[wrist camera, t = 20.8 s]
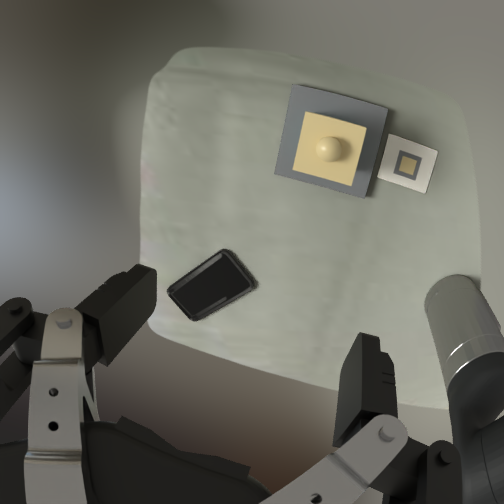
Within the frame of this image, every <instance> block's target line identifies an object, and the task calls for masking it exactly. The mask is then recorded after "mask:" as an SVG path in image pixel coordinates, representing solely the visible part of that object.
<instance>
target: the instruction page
mask: <svg viewBox="0 0 504 504" xmlns="http://www.w3.org/2000/svg"><path fill="white" fill-rule="evenodd" d="M437 153H438V151H436V150H434V149H431V148H428V147H426V146H423V145H420V144H418V143H415V142H412V141H409V140H407V139H404V138H401V137H398V136H395V135H392V134H389V135H388V139H387V143H386V147H385V151H384V154H383V158H382V162H381V165H380V169H379V172H378V176H377V178H381V179H384V180H387V181H390V182H393V183H396V184H399V185H402V186H405V187H408V188H411V189H413V190H416V191H419V192H422V193H426V190H427V187H428V183H429V180H430V177H431V174H432V170H433V167H434V164H435V160H436V157H437Z"/></svg>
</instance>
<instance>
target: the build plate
mask: <svg viewBox="0 0 504 504" xmlns="http://www.w3.org/2000/svg"><path fill="white" fill-rule="evenodd" d="M305 111H308V112H314V113H318V114H322V115H326V116H330V117H334V118H338V119H341V120H345V121H349V122H352V123H356V124H359V125H362V126H364V127H366V128H367V129H366V133H365V137H364V141H363V145H362V149H361V153H360V156H359V160H358V164H357V168H356V171H355V175H354V178H353V182H352V186H349V185H345V184H342V183H339V182H335V181H332V180H328V179H325V178H321V177H317V176H314V175H310V174H306V173H303V172H299V171H295V170H293V165H294V161H295V156H296V152H297V147H298V143H299V138H300V134H301V129H302V125H303V120H304V115H305ZM387 112H388V109H387V108H384V107H381V106H378V105H374V104H371V103H368V102H364V101H361V100H357V99H354V98H350V97H346V96H343V95H339V94H335V93H331V92H327V91H323V90H318V89H314V88H309V87H305V86H300V85H295V84H292V89H291V94H290V99H289V104H288V109H287V114H286V119H285V123H284V128H283V133H282V138H281V143H280V148H279V153H278V158H277V163H276V167H275V172H274V174H276V175H280V176H284V177H288V178H292V179H296V180H299V181H303V182H307V183H311V184H314V185H318V186H322V187H325V188H329V189H332V190H336V191H339V192H343V193H346V194H350V195H353V196H357V197H360V198H363V199H364V198H365V195H366V192H367V188H368V185H369V181H370V178H371V174H372V171H373V167H374V163H375V160H376V156H377V152H378V148H379V145H380V141H381V137H382V133H383V129H384V125H385V120H386V116H387Z"/></svg>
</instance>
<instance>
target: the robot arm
mask: <svg viewBox="0 0 504 504" xmlns="http://www.w3.org/2000/svg"><path fill="white" fill-rule="evenodd" d="M156 302H157V272H156V270H155V269H153V268H150V267H147V266H144V265H141V264H136V265H135V266H134V267H133V268H132V269H130V270H129V271H128V272H121V273H119V274H116V275H113V276H112V277H110V278H109V279H108V280H107V281H106V282H105V283H104V284H102V285H101V286H100V287H99V288H98V289H97V290H95V291H94V292H93V293H91V294H90V295H89V296H88V297H87V298H86V299H84V300H83V301H82V302H81V303H80V304H79V305H78V306H76V307H75V308H74V309H72V308H59V309H56V310H54V311H53V312H51V313H50V314H49V315H47V314H43V313H38V312H34V311H33V309H32V305H31V303H30V301H29V300H27V299H26V298H21V297H17V298H12V299H10V300H8V301H6V302H5V303H4V304H3V305H2V306H0V356H1V355H2V354H3V353H4V352H5V351H6V350H7V349H8V348H9V347H10V346H11V345H13V348H14V352H12V354H11V355H10V356H9V357H8V358H7V359H6V360H5V361H4V362H3V363H2V364H1V365H0V421H1V420H2V419H3V417H4V416H5V415H6V413H7V412H8V411H9V410H10V408H11V407H12V406H13V405H14V403H15V402H16V401H17V400H18V398H19V397H20V396H21V395H22V393H23V392H24V391H25V390H26V389H27V387H28V386H29V385H30V384H31V389H30V403H29V422H28V438H27V439H23V440H18V441H14V442H10V443H5V444H0V504H352V503H353V502H354V501H355V500H356V499H357V498H358V497H360V495H361V494H363V493H364V492H365V491H366V489H367V488H368V487H371V488H373V489H376V490H378V491H380V492H382V493H383V501H382V504H504V416H502V417H501V418H499V419H497V420H495V419H496V418H497V417H498V415H499V414H500V413H501V412H502V411H503V410H504V338H503V336H502V334H501V332H500V329H501V327H500V324H499V322H498V321H497V319H496V317H495V315H494V313H493V312H492V310H491V308H490V306H489V304H488V303H487V301H486V299H485V297H484V296H483V294H482V292H481V291H479V290H477V288H476V286H475V285H474V283H473V282H472V281H471V280H470V279H469V278H467V277H465V276H462V275H452V276H448V277H445V278H443V279H442V280H440V281H439V282H437V283H436V284H435V285H434V286H433V287H432V288H431V290H430V291H429V293H428V294H427V297H426V300H425V311H426V315H427V318H428V321H429V325H430V329H431V332H432V336H433V339H434V343H435V346H436V350H437V354H438V358H439V362H440V366H441V370H442V374H443V378H444V382H445V387H446V392H447V396H448V401H449V413H450V420H451V425H452V436H453V444H451V443H450V442H448V441H444V440H439V441H436V442H434V443H433V444H432V445H430V446H427V445H425V444H422V443H420V442H418V441H416V440H413V439H412V438H410V437H409V436H408V433H407V429H406V427H405V426H404V424H403V423H402V422H401V421H400V420H399V419H398V413H397V396H396V386H395V384H396V383H395V377H394V376H395V372H394V364H393V362H392V360H391V358H390V356H389V355H388V353H385V352H381V351H380V339H379V337H377V336H373V335H369V334H365V333H362V332H360V333H359V334H358V335H357V337H356V339H355V341H354V343H353V345H352V347H351V349H350V351H349V353H348V355H347V357H346V359H345V361H344V363H343V366H342V369H341V373H340V383H339V394H338V403H337V413H336V421H335V430H334V437H333V445H332V446H333V447H338V448H339V449H338V450H337V451H336V452H334V453H333V454H329V455H328V456H326V457H325V458H324V459H322V460H321V461H320V462H318V463H317V464H316V465H315V466H313V467H312V468H311V469H309V470H308V471H306V472H305V473H304V474H303V475H301V476H300V477H298V478H297V479H295V480H294V481H293V482H291V483H290V484H288V485H287V486H285V487H284V488H282V489H281V490H280V491H278V492H276V493H275V494H273V495H272V494H271V492H270V491H269V490H268V489H267V488H266V487H265V486H264V485H263V484H262V483H260V482H259V481H257V480H256V479H255V478H253V477H251V476H249V475H248V473H249V470H250V467H249V466H246V465H242V464H239V463H236V462H233V461H230V460H227V459H224V458H221V457H218V456H211V455H203V454H196V453H190V452H184V451H180V450H177V449H176V448H175V447H173V446H172V445H171V444H169V443H168V442H166V441H165V440H164V439H162V438H161V437H160V436H158V435H157V434H156V433H154V432H153V431H152V430H150V429H148V428H146V427H144V426H142V425H140V424H137V423H135V422H133V421H131V420H129V419H127V418H125V417H123V416H122V417H121V418H120V419H119V421H118V422H117V423H115V422H109V421H100V420H99V416H98V412H97V404H96V391H95V375H94V367H93V366H94V365H95V364H96V363H97V362H100V363H101V364H104V365H105V366H107V367H108V365H109V364H110V363H111V362H112V361H113V359H114V358H115V357H116V356H117V355H118V353H119V352H120V351H121V350H122V349H123V347H124V346H125V345H126V344H127V343H128V342H129V340H130V339H131V338H132V337H133V336H134V335H135V334H136V332H137V331H138V330H139V329H140V328H141V327H142V325H143V324H144V323H145V322H146V321H147V320H148V318H149V317H150V316H151V315H152V313H153V312H154V309H155V306H156Z"/></svg>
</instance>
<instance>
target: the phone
mask: <svg viewBox="0 0 504 504" xmlns="http://www.w3.org/2000/svg"><path fill="white" fill-rule="evenodd" d="M240 266H241V264H240V263H239V262H238V261H237V259H236V258H235V257H234V256H233V255H232V253H231V252H230V251H229V250H227V249H221V250H219V251H218V252H216V253H215V254H214V255H212V256H211V257H209V258H208V259H207V260H205V261H204V262H202V263H201V264H200V265H198V266H197V267H195V268H194V269H193V270H191V271H190V272H189V273H187V274H186V275H184V276H183V277H182V278H180V279H179V280H178V281H176V282H175V283H173V284H172V285H171V286H170V287H169V288H168V289H167V294H168V296H169V297H170V298H171V299H172V300H173V301H174V302H175V304H176V305H177V306H178V307H179V308H180V309H181V310H182V311H183V313H184V314H185V315H186V316H187V317H188V318H189V319H190V320H192V321H198V320H200V319H202V318H203V317H205V316H207V315H209V314H210V313H212V312H214V311H216V310H217V309H219V308H221V307H223V306H224V305H226V304H228V303H230V302H231V301H233V300H235V299H237V298H238V297H240V296H242V295H243V294H245V293H247V292H249V291H250V290H252V288H253V286H254V280H253V279H252V278H251V276H250V275H249V274H248V273H247V272H246V270H245V269H244V268H243V267H242V266H241V267H242V268H241V267H240Z"/></svg>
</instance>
